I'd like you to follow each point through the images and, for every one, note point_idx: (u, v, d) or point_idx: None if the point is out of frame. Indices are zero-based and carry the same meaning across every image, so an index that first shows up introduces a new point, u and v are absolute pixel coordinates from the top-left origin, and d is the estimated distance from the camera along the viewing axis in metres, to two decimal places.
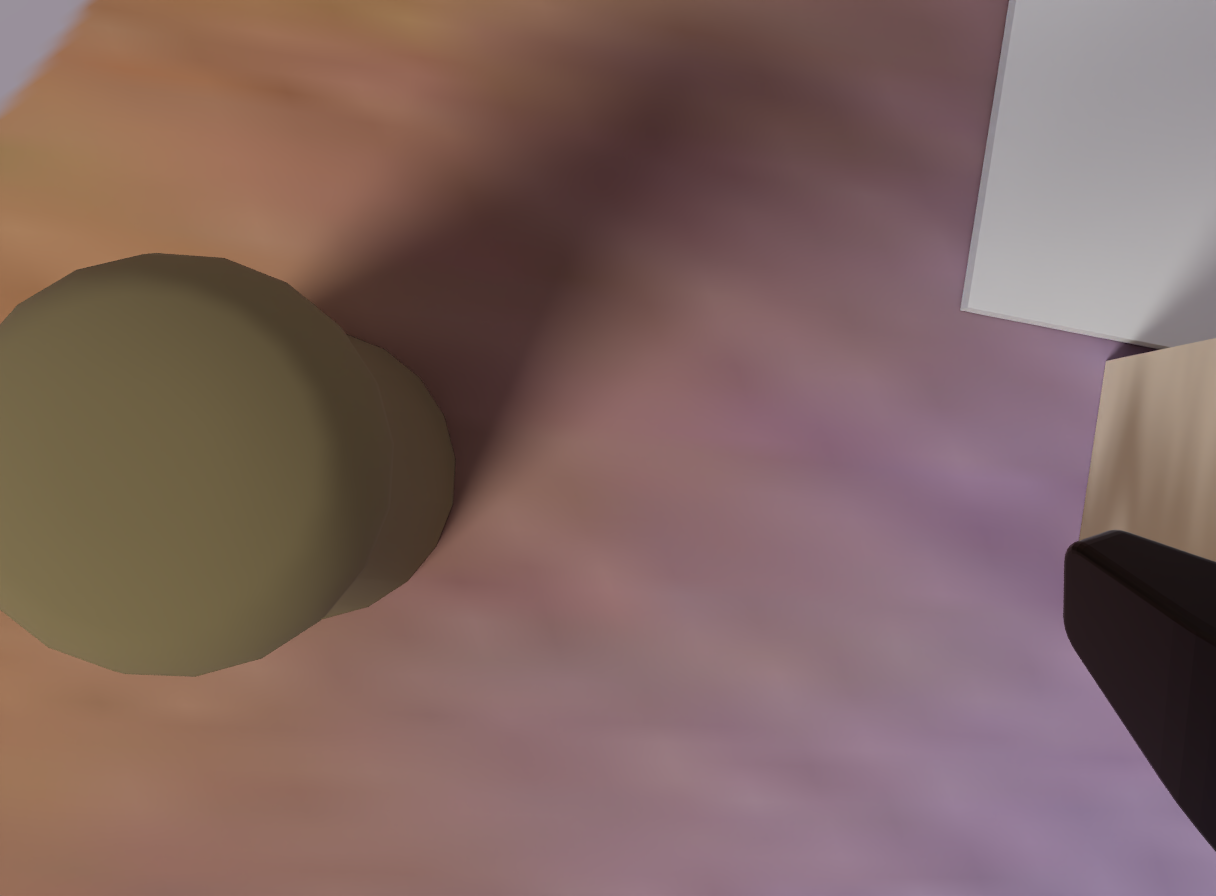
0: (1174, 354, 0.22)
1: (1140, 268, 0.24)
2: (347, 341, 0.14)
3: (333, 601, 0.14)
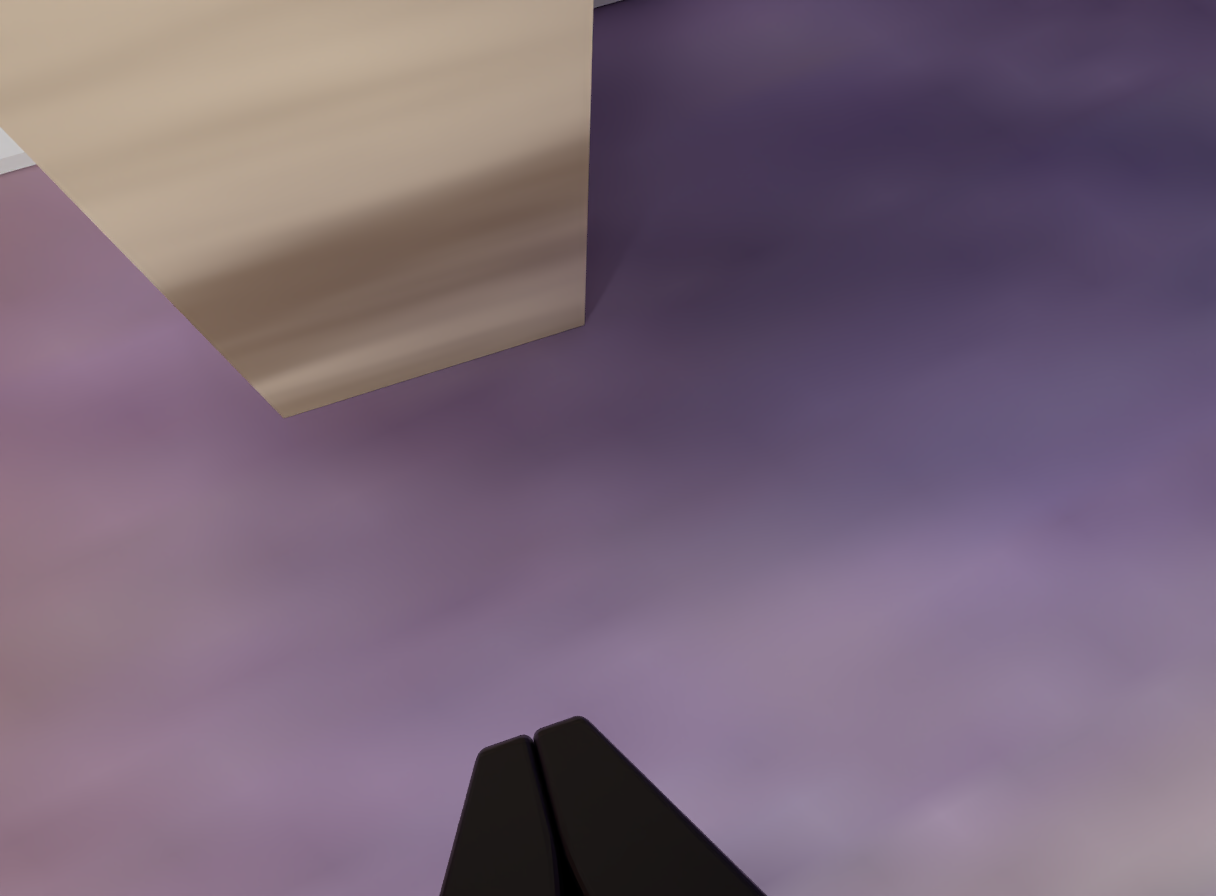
0: None
1: None
2: None
3: None
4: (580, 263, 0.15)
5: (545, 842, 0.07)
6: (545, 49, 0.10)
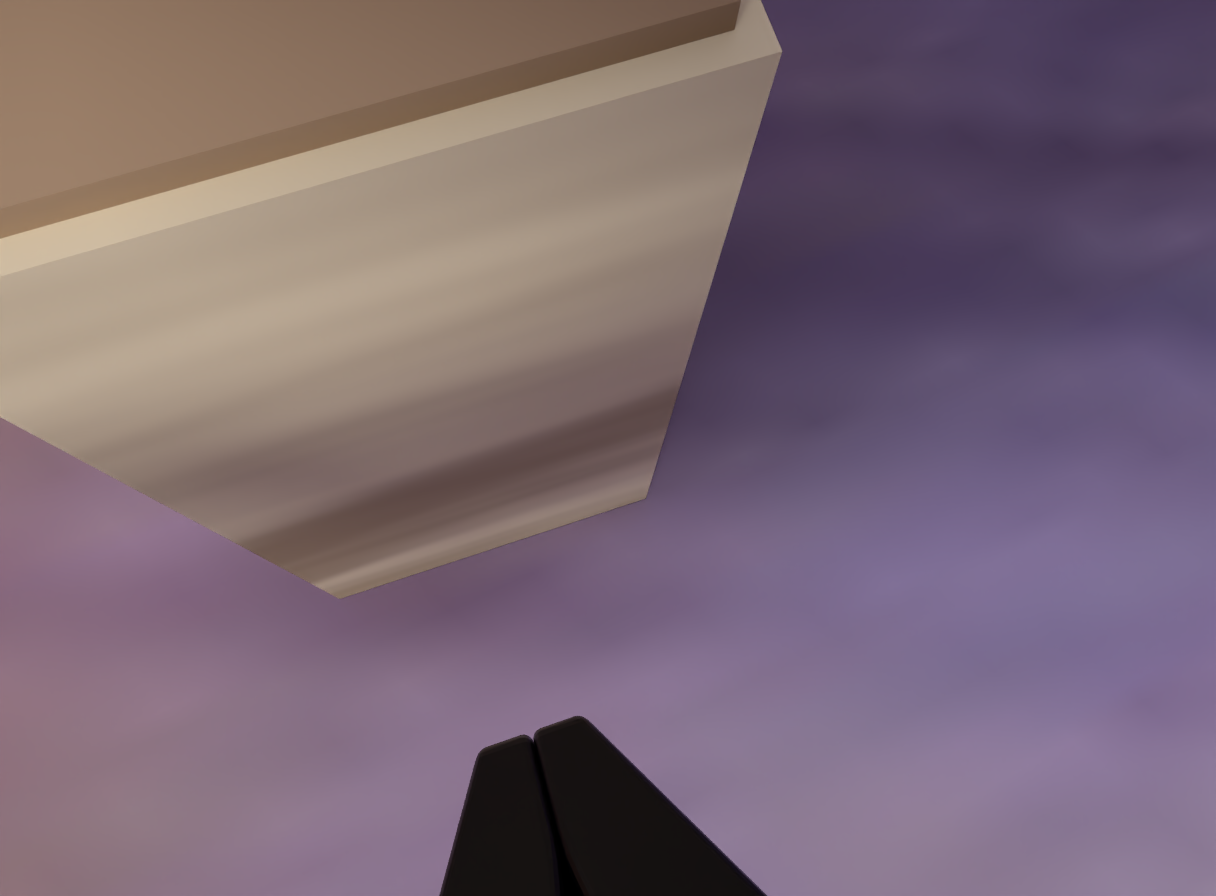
0: None
1: None
2: None
3: None
4: (651, 462, 0.15)
5: (545, 842, 0.07)
6: (650, 339, 0.10)
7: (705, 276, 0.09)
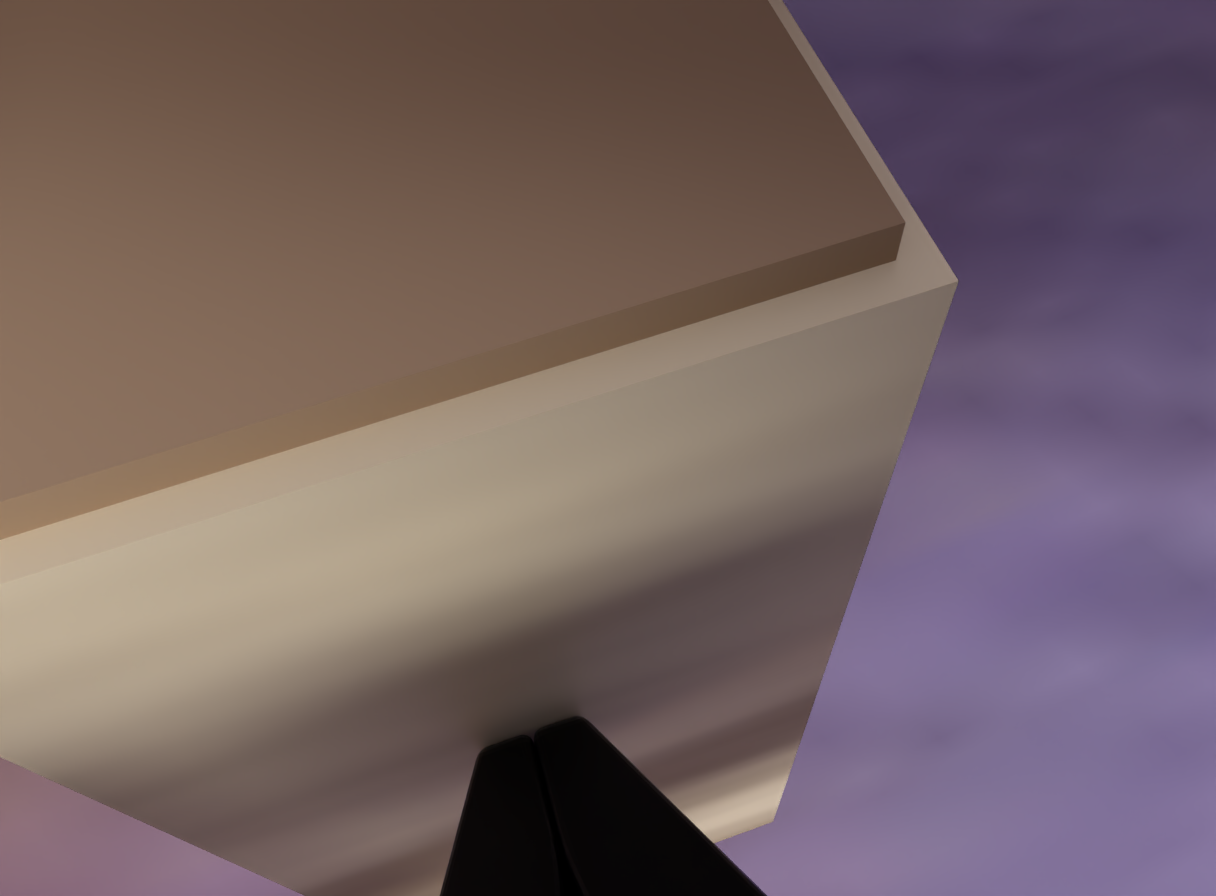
0: None
1: None
2: None
3: None
4: (780, 781, 0.13)
5: (545, 842, 0.07)
6: (784, 639, 0.08)
7: (852, 563, 0.07)
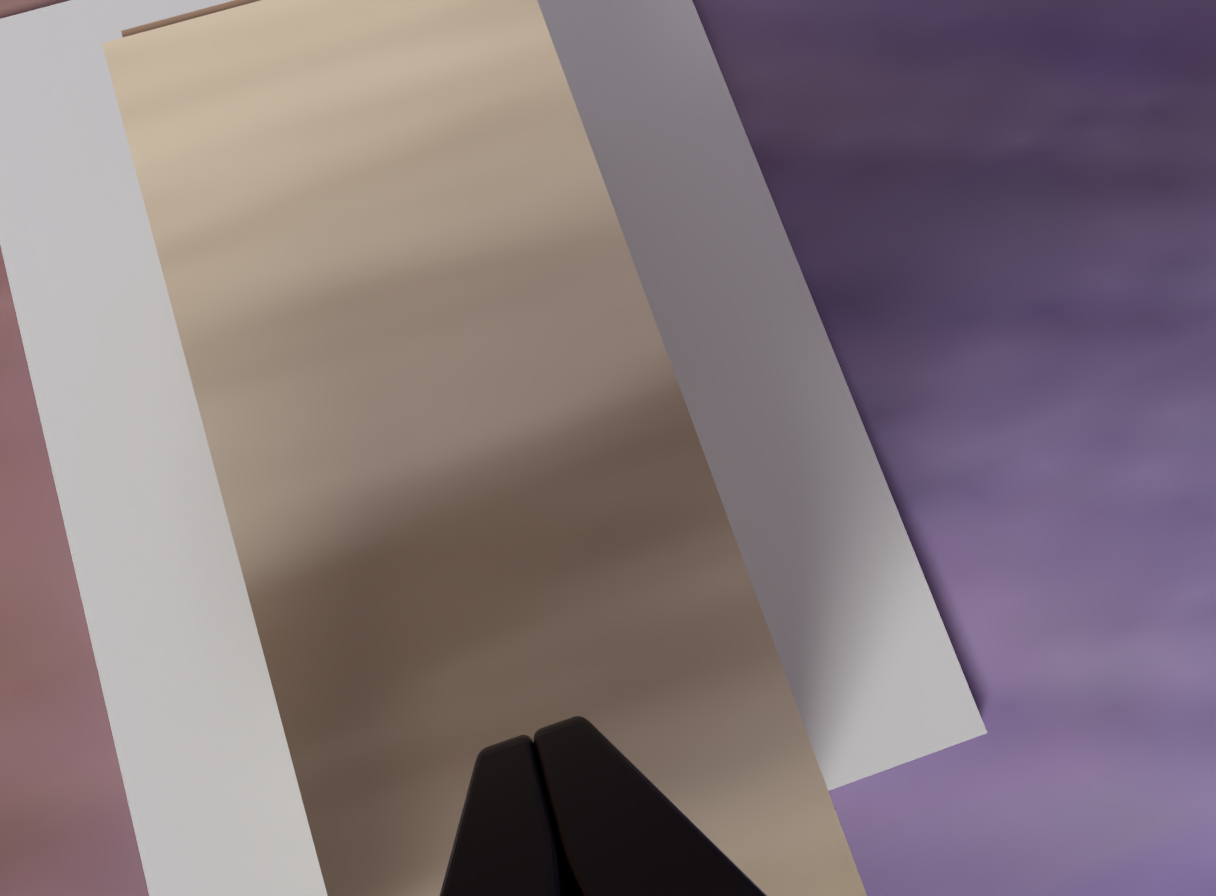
0: None
1: None
2: None
3: None
4: (782, 689, 0.11)
5: (544, 842, 0.07)
6: (584, 245, 0.12)
7: (584, 147, 0.13)
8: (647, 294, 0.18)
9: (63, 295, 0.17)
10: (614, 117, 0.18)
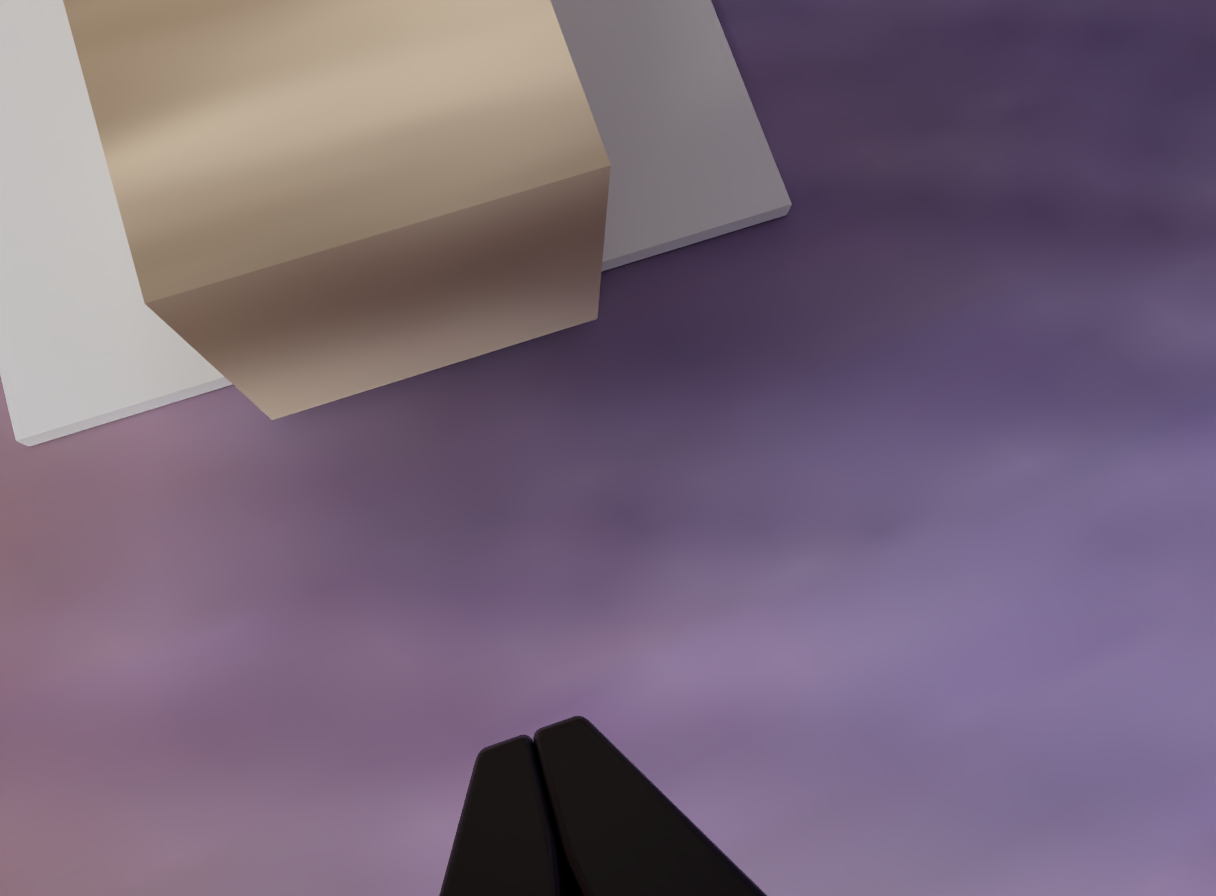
0: None
1: None
2: None
3: None
4: None
5: (545, 842, 0.07)
6: None
7: None
8: None
9: None
10: None
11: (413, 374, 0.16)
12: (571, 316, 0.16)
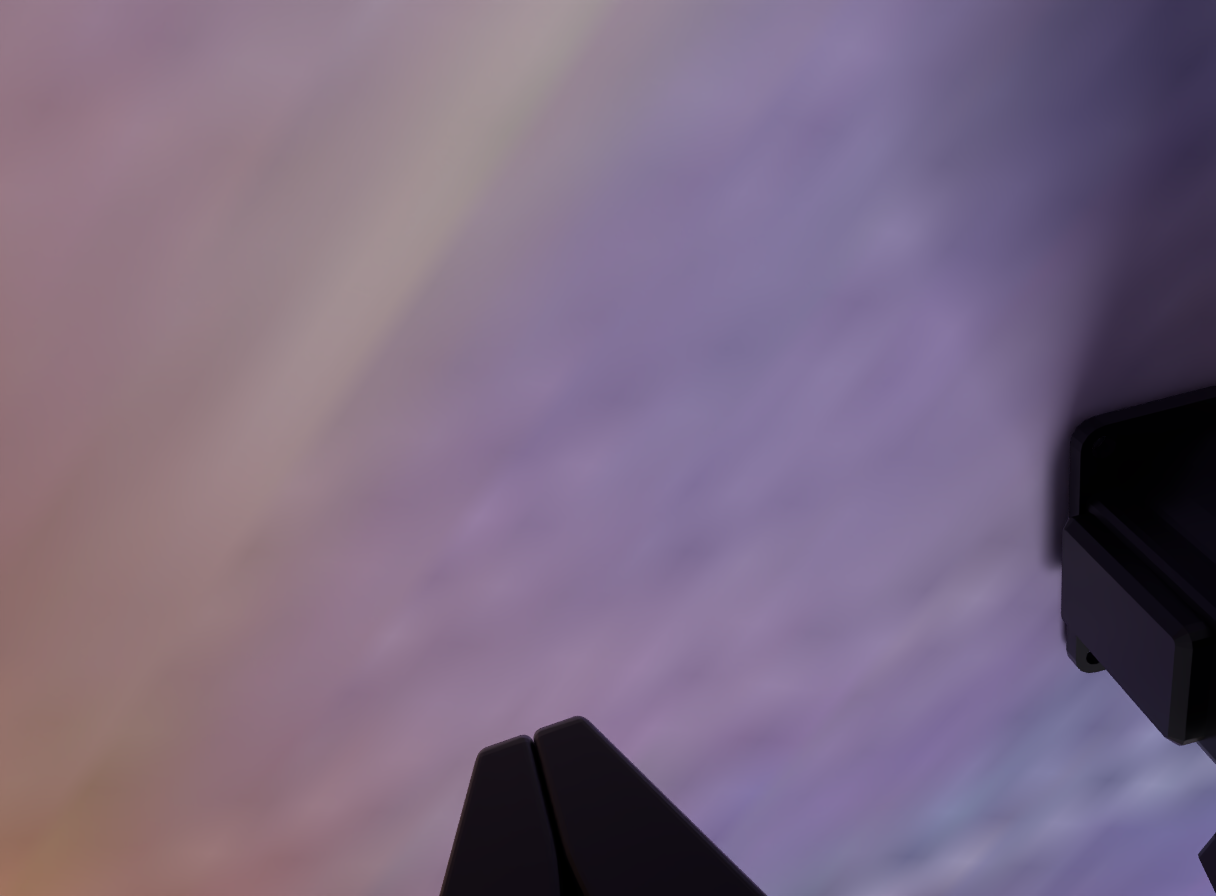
0: None
1: None
2: None
3: None
4: None
5: (545, 842, 0.07)
6: None
7: None
8: None
9: None
10: None
11: None
12: None
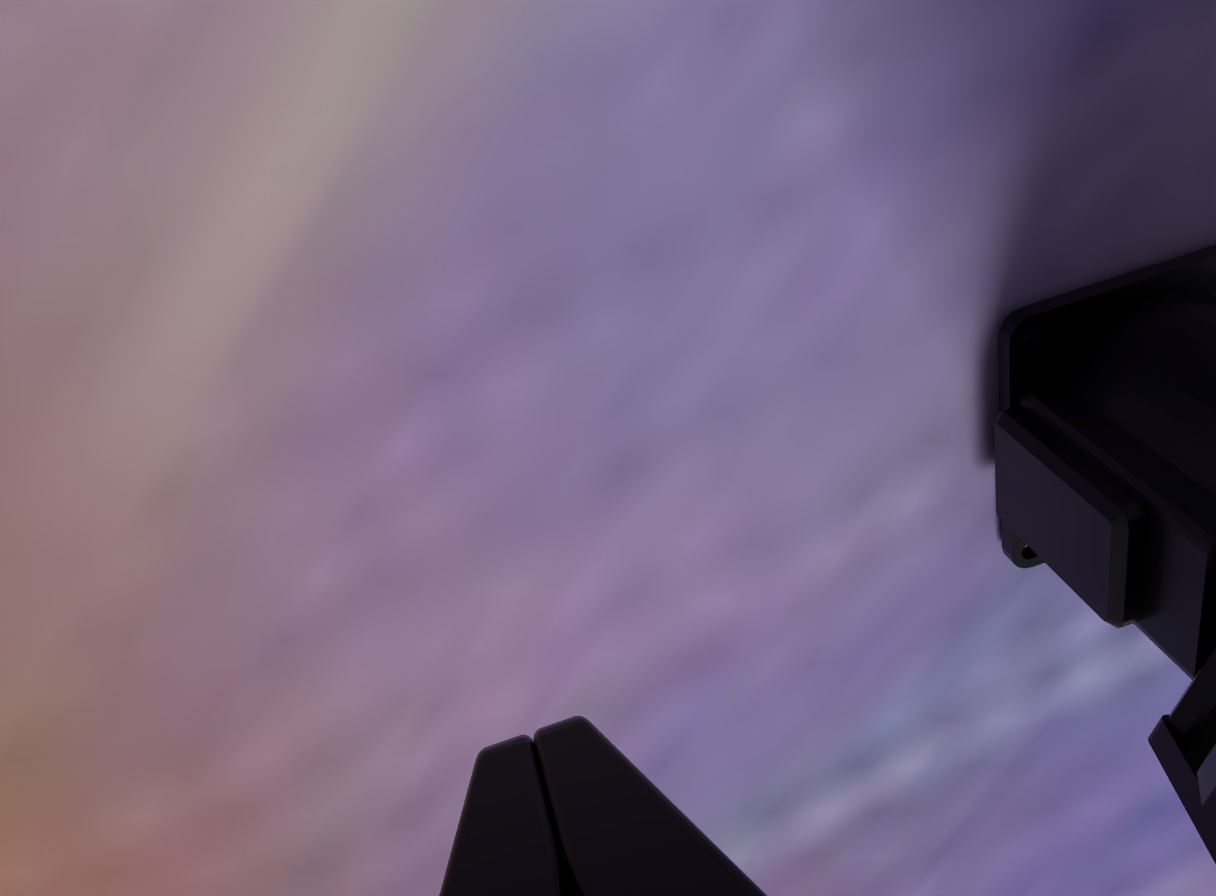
0: None
1: None
2: None
3: None
4: None
5: (545, 842, 0.07)
6: None
7: None
8: None
9: None
10: None
11: None
12: None
